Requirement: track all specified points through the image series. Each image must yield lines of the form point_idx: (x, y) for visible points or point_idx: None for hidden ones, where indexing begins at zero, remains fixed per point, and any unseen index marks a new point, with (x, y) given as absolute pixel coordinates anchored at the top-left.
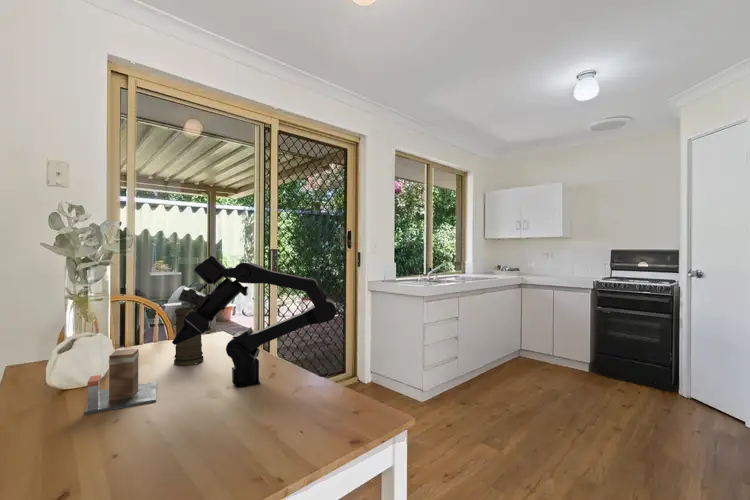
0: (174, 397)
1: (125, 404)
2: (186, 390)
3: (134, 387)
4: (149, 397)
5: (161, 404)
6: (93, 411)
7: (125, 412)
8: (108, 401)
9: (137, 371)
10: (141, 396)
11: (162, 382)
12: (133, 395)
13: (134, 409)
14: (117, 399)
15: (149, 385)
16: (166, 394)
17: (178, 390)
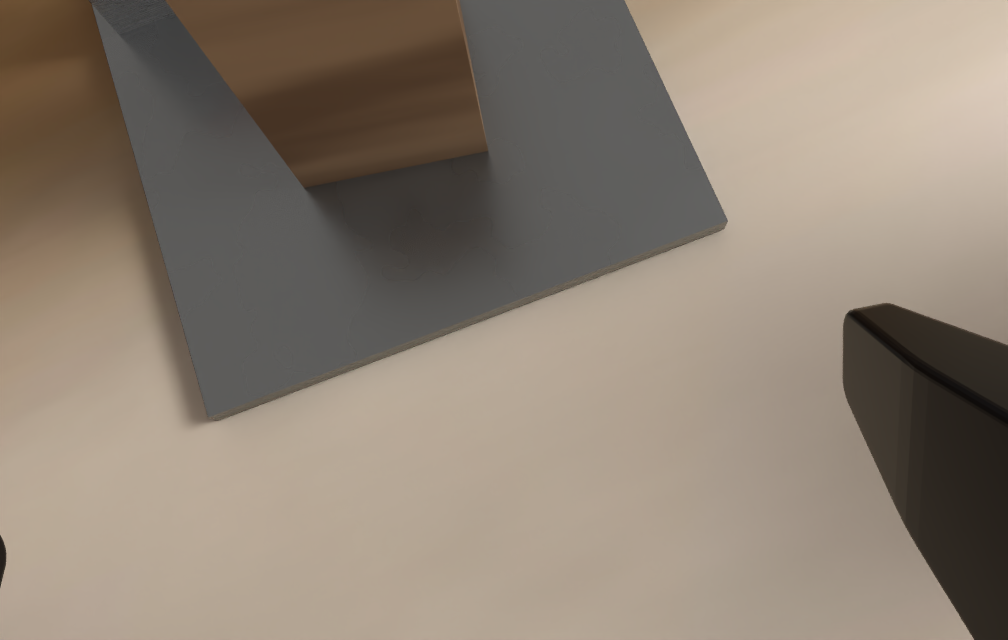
0: (294, 563)
1: (156, 199)
2: (473, 626)
3: (337, 143)
4: (273, 336)
5: (143, 499)
6: (98, 23)
7: (49, 261)
8: None
9: (427, 50)
10: (316, 251)
11: (763, 270)
12: (322, 178)
13: (92, 305)
14: None
15: (614, 196)
16: (394, 449)
17: (488, 535)
